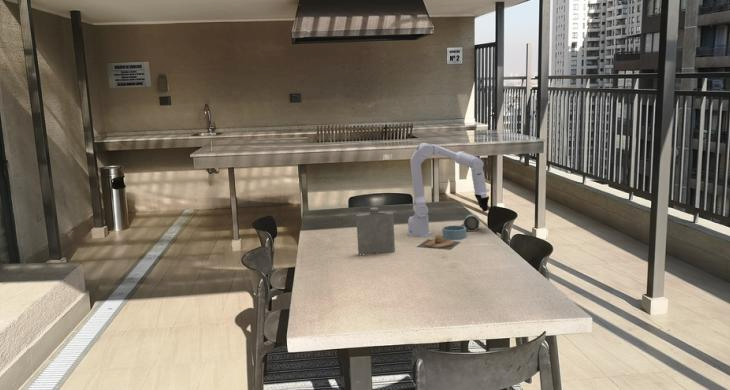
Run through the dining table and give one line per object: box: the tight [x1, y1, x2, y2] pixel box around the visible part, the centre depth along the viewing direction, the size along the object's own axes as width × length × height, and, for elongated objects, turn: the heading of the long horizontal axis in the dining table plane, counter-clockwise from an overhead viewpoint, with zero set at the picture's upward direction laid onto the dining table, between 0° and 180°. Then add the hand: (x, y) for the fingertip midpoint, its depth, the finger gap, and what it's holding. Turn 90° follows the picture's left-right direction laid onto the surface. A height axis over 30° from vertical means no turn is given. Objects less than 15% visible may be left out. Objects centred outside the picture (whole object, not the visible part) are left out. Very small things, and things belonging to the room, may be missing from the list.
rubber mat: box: [416, 238, 461, 251], centre depth 267 cm, size 16×14×1 cm
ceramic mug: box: [459, 214, 481, 232], centre depth 293 cm, size 11×8×8 cm
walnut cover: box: [423, 234, 454, 249], centre depth 267 cm, size 13×13×4 cm
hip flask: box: [355, 207, 396, 256], centre depth 258 cm, size 16×4×20 cm, turn 94°
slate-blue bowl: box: [441, 225, 467, 241], centre depth 279 cm, size 11×11×4 cm
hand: (483, 209), depth 287 cm, fingers open, 7 cm apart
